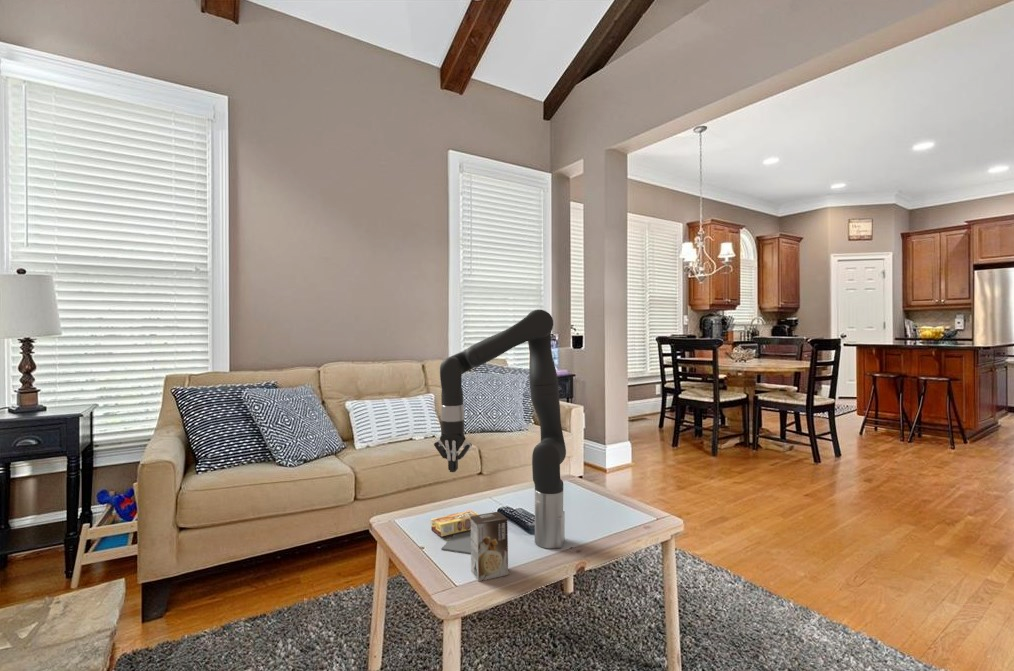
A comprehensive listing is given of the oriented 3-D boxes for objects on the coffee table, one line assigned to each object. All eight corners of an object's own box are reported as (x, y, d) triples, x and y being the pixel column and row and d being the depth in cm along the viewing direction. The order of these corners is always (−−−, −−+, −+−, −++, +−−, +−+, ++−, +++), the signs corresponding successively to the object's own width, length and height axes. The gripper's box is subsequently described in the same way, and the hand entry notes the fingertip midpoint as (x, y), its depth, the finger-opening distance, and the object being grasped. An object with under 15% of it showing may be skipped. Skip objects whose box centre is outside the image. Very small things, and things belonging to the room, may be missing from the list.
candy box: (440, 537, 156) (482, 528, 164) (440, 523, 157) (482, 515, 164) (431, 530, 164) (471, 521, 172) (430, 517, 164) (471, 509, 172)
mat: (500, 537, 158) (500, 535, 158) (486, 556, 145) (486, 555, 145) (458, 531, 163) (458, 530, 163) (441, 549, 150) (441, 548, 150)
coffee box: (499, 565, 140) (499, 510, 140) (508, 575, 134) (508, 518, 134) (470, 571, 136) (470, 515, 136) (477, 582, 131) (477, 524, 130)
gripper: (475, 417, 157) (476, 469, 157) (438, 415, 161) (439, 466, 161) (467, 421, 150) (467, 476, 150) (428, 419, 153) (429, 473, 154)
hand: (453, 471), depth 155 cm, fingers closed
